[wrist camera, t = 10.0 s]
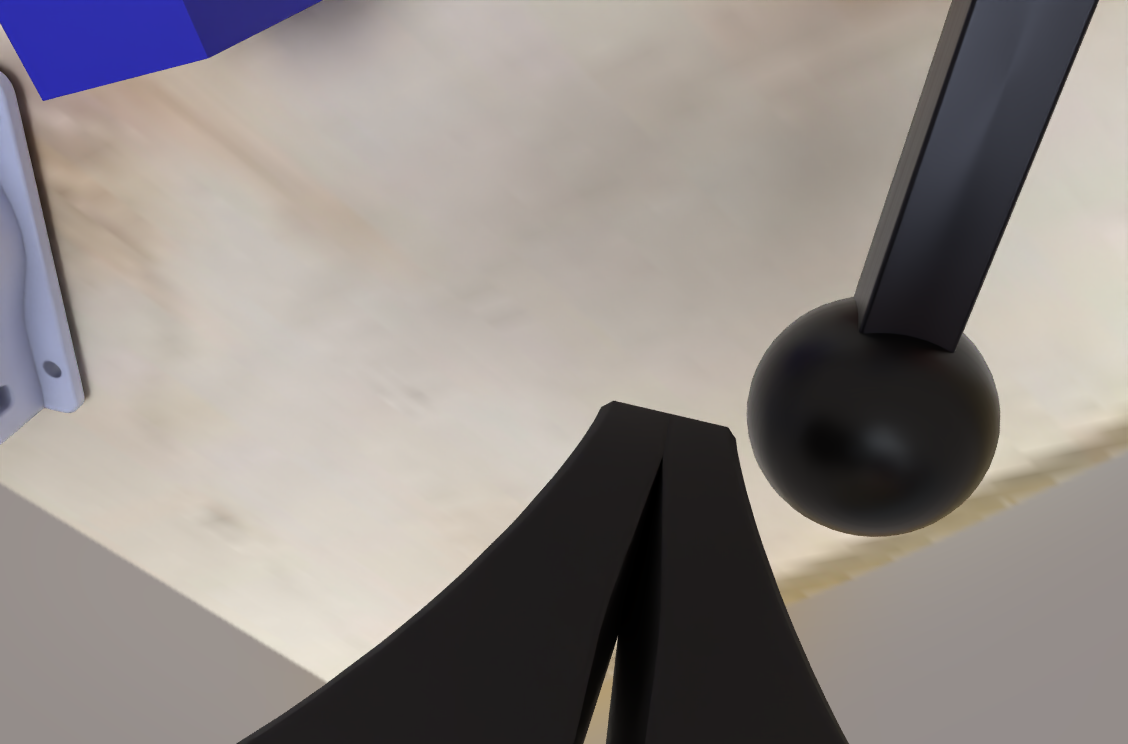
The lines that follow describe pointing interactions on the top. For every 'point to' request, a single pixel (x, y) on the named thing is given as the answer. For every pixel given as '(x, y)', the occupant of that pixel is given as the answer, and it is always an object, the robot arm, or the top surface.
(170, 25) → the blue cradle block
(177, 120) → the top surface
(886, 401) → the lever
